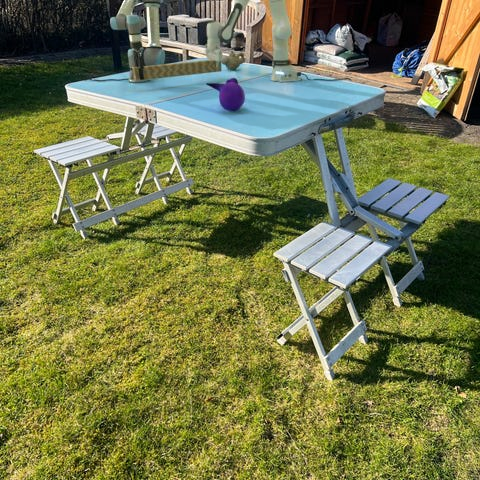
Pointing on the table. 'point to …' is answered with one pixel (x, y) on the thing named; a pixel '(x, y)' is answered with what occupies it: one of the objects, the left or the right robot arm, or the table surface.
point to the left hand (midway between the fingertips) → (140, 78)
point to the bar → (177, 69)
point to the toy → (230, 94)
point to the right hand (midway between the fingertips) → (215, 66)
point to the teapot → (233, 61)
